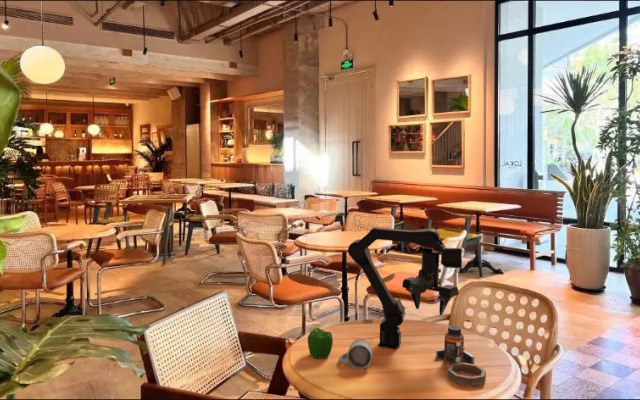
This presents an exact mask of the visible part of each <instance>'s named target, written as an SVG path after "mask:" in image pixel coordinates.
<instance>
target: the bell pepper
mask: <svg viewBox="0 0 640 400" xmlns="http://www.w3.org/2000/svg"><path fill="white" fill-rule="evenodd" d="M333 341H334V340H333V334H332V332H331V331H326V330H323V329H322V328H320V327H317V326H316V327H314V328H312V330H310V332H309V334H308V335H307V345H308V351H309V355H310V356H311V357H312V358H313V359H322V358H328V357H329V356H330V354H331V351H332V348H333V345H334V342H333Z"/></svg>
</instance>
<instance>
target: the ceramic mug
mask: <svg viewBox="0 0 640 400" xmlns="http://www.w3.org/2000/svg"><path fill="white" fill-rule="evenodd" d="M372 357H373V348H372V345H371V343H370V342H369V341H368V340H366V339H364V338H358V339H355V340H354V341H352V342H351V343H350V346H349V347H348V351H347V352H345V353H344V354H343V353H342V355H341V356H339V357H338V360H337V361H338V363H339V364H340V365H346V364H349V365H350V367H352V368H353V369H357V370H364V369H366V368H367V367H369V365H370V364H371V362H372V359H373V358H372Z"/></svg>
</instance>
